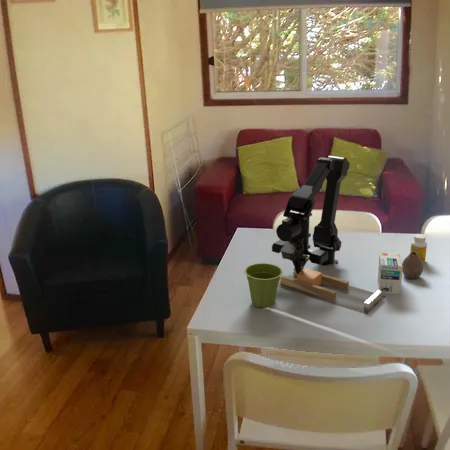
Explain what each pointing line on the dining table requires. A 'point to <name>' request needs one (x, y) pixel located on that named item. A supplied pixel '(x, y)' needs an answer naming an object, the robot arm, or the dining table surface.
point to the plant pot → (263, 283)
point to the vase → (412, 266)
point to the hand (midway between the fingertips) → (298, 274)
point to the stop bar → (372, 300)
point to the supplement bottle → (419, 246)
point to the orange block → (310, 276)
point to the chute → (330, 291)
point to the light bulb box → (390, 273)
